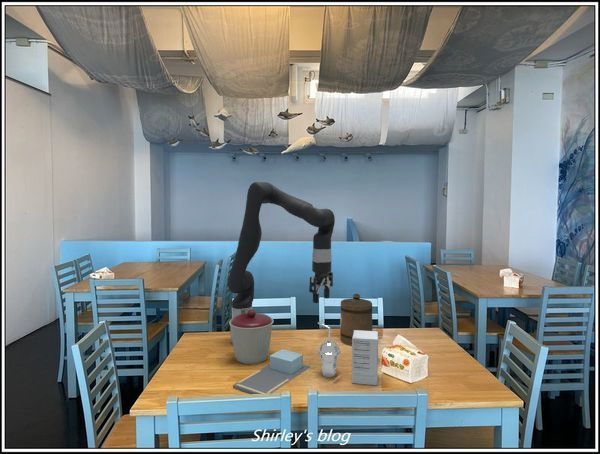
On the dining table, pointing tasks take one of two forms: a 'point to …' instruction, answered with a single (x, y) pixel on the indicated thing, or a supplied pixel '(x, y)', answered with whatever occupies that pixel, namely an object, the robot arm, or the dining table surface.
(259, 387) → the display board
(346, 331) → the wooden container
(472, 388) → the dining table surface
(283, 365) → the carton
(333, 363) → the cup with straw
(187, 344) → the dining table surface
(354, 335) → the supplement box
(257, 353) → the canister
